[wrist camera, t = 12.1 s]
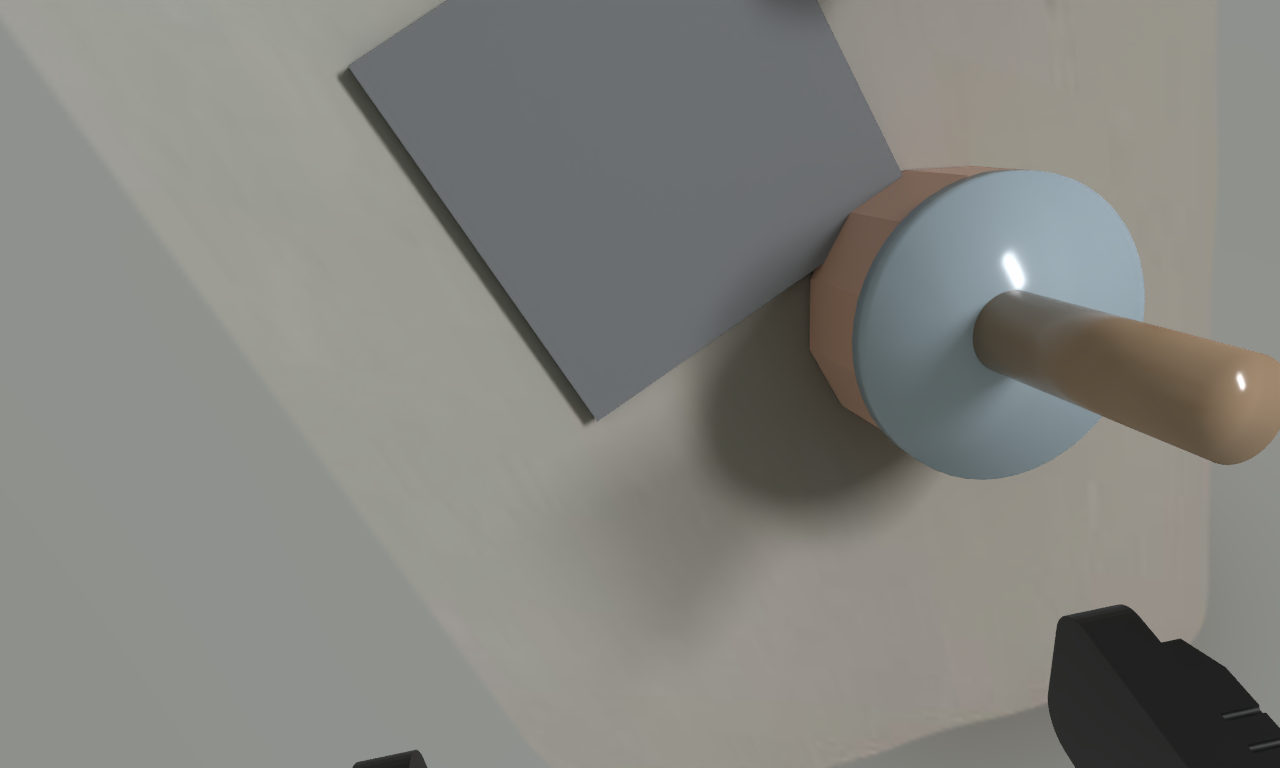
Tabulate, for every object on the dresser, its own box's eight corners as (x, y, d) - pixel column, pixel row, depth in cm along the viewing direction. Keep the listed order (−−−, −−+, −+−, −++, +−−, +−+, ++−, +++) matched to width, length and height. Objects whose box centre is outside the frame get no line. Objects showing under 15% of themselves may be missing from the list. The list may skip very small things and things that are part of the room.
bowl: (763, 268, 33) (808, 286, 30) (985, 113, 34) (1058, 112, 30) (882, 475, 37) (936, 515, 33) (1082, 332, 37) (1158, 355, 34)
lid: (797, 290, 29) (982, 366, 20) (1056, 105, 30) (1353, 96, 21) (934, 525, 33) (1143, 681, 24) (1162, 357, 34) (1455, 446, 24)
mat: (348, 67, 28) (347, 66, 28) (721, -181, 29) (726, -185, 29) (595, 418, 33) (597, 421, 33) (908, 198, 34) (914, 199, 34)
